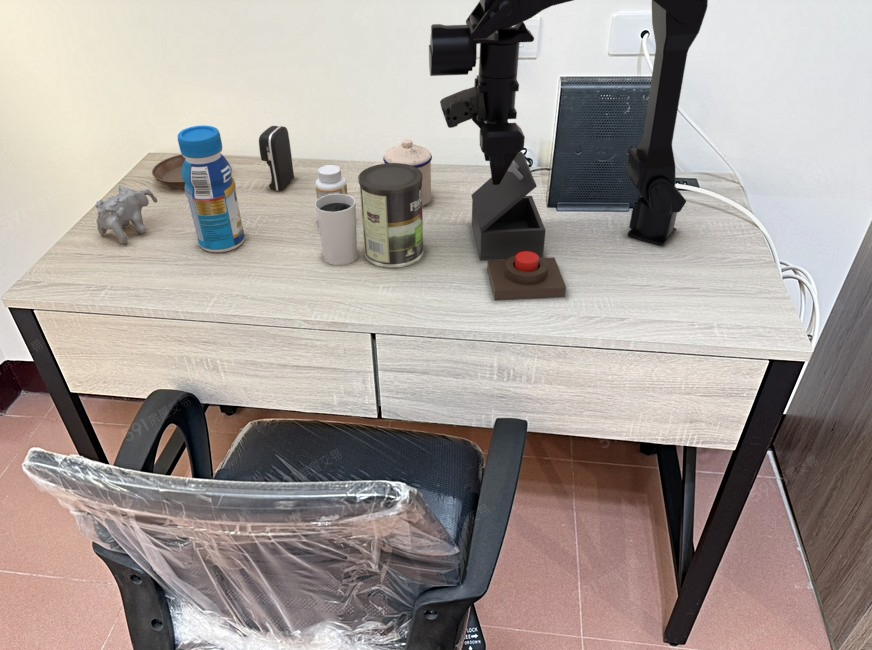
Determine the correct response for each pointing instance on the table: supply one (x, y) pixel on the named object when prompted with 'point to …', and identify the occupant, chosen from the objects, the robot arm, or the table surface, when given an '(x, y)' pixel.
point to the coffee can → (392, 214)
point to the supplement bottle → (330, 181)
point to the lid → (503, 192)
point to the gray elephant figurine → (122, 212)
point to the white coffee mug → (337, 228)
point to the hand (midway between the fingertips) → (492, 172)
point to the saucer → (170, 172)
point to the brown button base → (525, 280)
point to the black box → (511, 232)
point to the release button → (526, 261)
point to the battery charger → (277, 156)
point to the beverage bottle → (210, 189)
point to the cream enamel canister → (413, 163)
